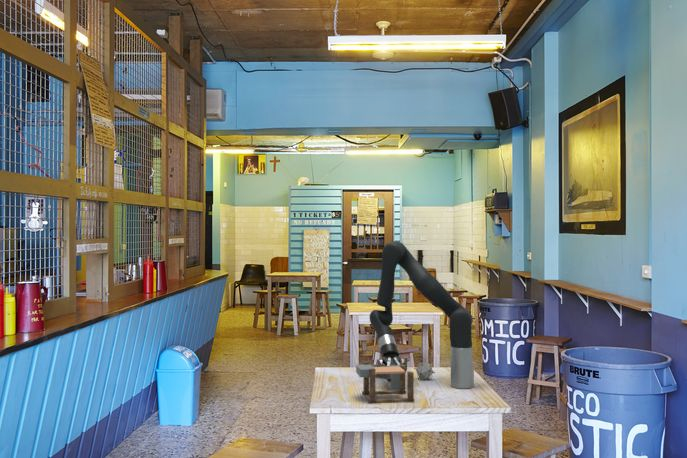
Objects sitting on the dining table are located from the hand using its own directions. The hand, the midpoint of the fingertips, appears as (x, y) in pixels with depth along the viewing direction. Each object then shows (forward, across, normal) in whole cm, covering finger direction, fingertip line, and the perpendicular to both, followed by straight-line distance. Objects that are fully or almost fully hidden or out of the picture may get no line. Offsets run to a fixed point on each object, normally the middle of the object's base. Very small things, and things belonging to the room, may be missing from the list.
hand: (396, 380), depth 257 cm
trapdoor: (+4, -10, -11) cm, 15 cm away
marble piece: (-19, +2, +26) cm, 32 cm away
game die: (-10, +19, +16) cm, 27 cm away
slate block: (-2, 0, +1) cm, 2 cm away
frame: (+11, -7, -5) cm, 13 cm away
